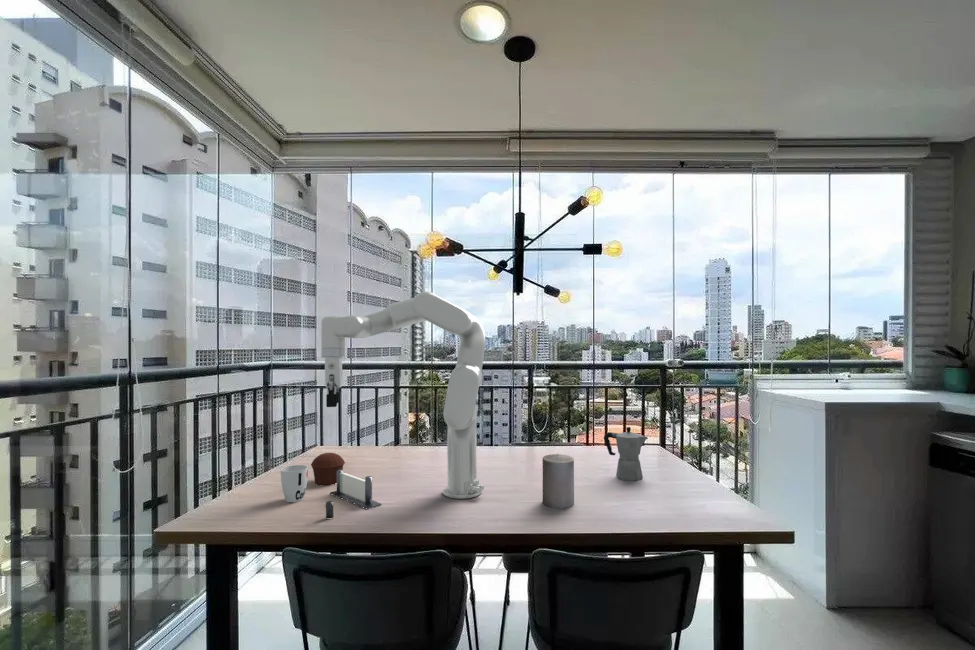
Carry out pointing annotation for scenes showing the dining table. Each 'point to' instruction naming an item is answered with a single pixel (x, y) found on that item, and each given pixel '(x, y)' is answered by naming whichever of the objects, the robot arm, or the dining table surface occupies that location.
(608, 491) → the dining table surface
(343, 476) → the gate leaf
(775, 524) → the dining table surface
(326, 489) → the dining table surface
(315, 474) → the muffin
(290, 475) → the cup
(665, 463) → the dining table surface
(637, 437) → the coffeepot
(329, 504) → the gate frame
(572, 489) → the pillar candle
